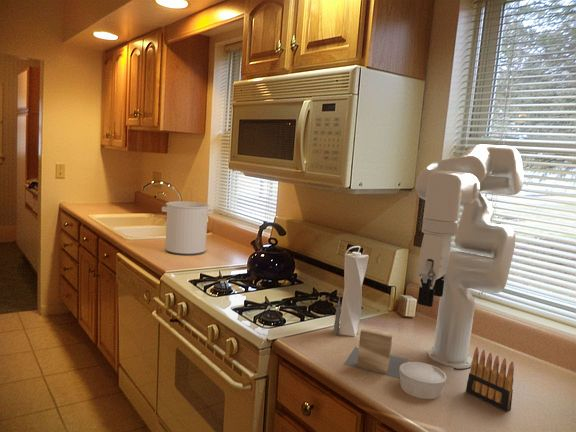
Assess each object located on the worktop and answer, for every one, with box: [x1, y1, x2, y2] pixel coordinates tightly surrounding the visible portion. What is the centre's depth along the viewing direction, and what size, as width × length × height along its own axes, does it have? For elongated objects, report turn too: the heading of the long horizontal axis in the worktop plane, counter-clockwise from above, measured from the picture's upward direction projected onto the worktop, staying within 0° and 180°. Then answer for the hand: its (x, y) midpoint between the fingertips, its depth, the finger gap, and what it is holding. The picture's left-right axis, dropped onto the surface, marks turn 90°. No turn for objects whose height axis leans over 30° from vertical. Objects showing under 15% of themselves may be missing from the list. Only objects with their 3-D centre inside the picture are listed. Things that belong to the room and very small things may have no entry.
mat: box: [343, 346, 408, 379], centre depth 131 cm, size 13×15×1 cm
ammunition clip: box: [465, 346, 515, 413], centre depth 114 cm, size 11×2×12 cm, turn 39°
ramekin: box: [399, 361, 448, 400], centre depth 117 cm, size 11×11×5 cm
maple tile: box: [357, 327, 393, 374], centre depth 126 cm, size 2×8×10 cm, turn 68°
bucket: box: [161, 200, 214, 256], centre depth 243 cm, size 26×22×24 cm
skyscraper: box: [333, 245, 370, 338], centre depth 148 cm, size 8×8×28 cm
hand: (430, 300), depth 109 cm, fingers open, 9 cm apart
